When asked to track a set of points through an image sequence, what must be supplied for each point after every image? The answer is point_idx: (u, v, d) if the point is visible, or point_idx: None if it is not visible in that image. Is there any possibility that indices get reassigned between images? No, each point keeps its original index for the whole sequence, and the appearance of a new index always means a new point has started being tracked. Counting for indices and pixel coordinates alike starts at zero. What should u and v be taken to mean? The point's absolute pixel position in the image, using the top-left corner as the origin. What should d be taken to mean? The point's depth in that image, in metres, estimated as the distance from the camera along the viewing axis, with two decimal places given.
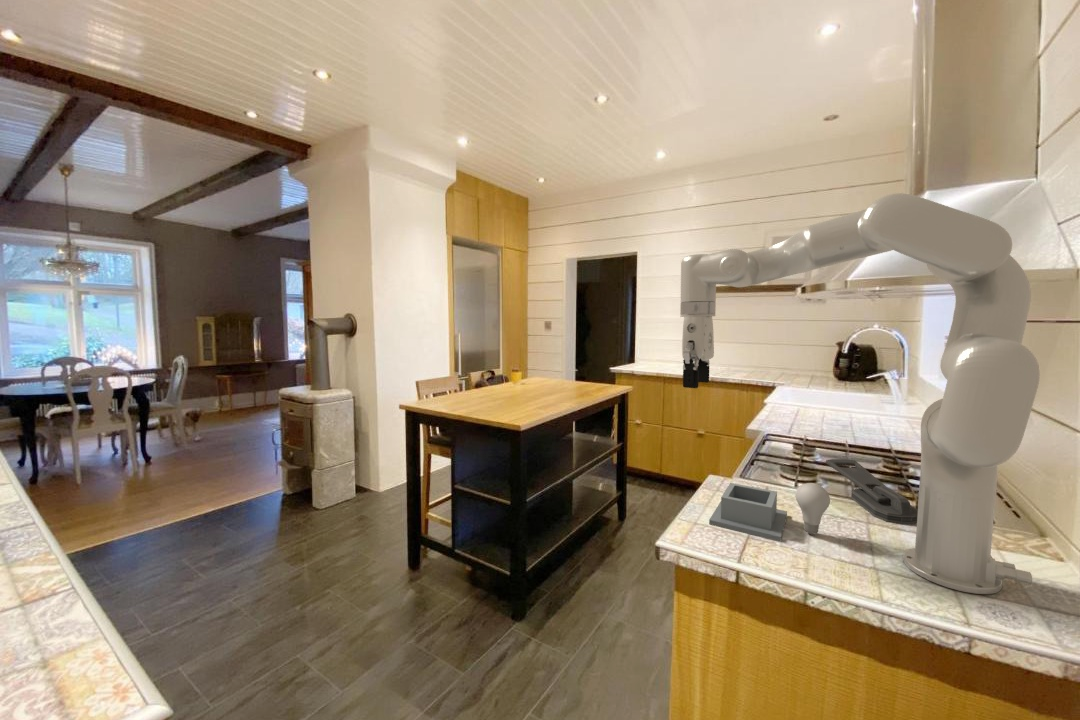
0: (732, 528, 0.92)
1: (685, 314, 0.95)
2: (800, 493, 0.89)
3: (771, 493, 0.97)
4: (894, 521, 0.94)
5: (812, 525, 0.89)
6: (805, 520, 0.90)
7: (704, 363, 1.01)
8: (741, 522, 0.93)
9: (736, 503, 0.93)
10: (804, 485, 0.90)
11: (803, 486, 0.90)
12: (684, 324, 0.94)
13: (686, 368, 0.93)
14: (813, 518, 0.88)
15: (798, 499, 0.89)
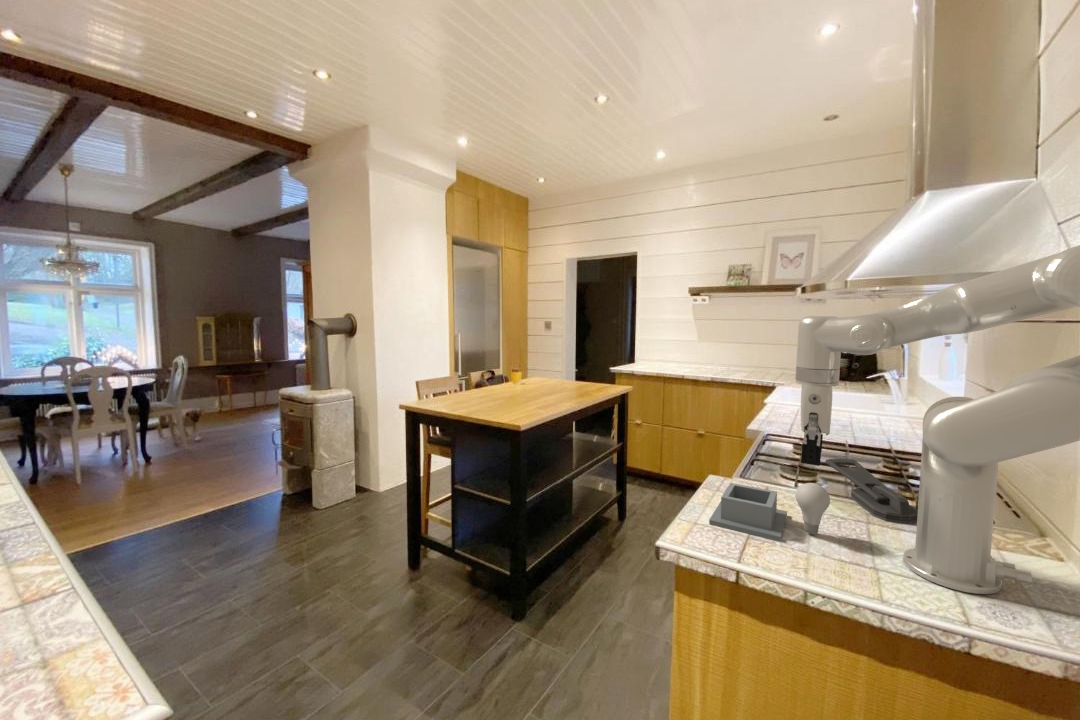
0: (732, 528, 0.92)
1: (805, 382, 0.86)
2: (800, 493, 0.89)
3: (771, 493, 0.97)
4: (893, 520, 0.95)
5: (812, 525, 0.89)
6: (805, 520, 0.90)
7: None
8: (741, 522, 0.93)
9: (736, 503, 0.93)
10: (804, 485, 0.90)
11: (803, 486, 0.90)
12: (805, 393, 0.85)
13: (808, 443, 0.84)
14: (813, 518, 0.88)
15: (798, 499, 0.89)
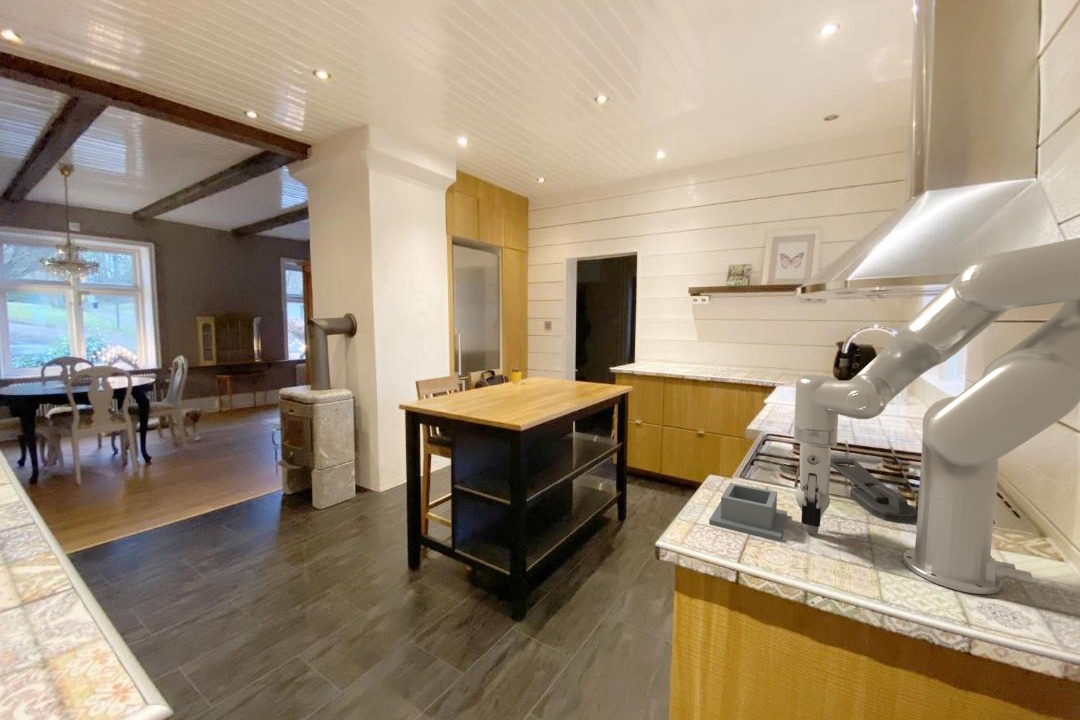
0: (732, 528, 0.92)
1: (803, 441, 0.87)
2: (800, 493, 0.89)
3: (771, 493, 0.97)
4: (892, 519, 0.95)
5: None
6: None
7: None
8: (741, 522, 0.93)
9: (736, 503, 0.93)
10: None
11: None
12: (803, 453, 0.86)
13: (807, 505, 0.86)
14: None
15: (798, 499, 0.89)
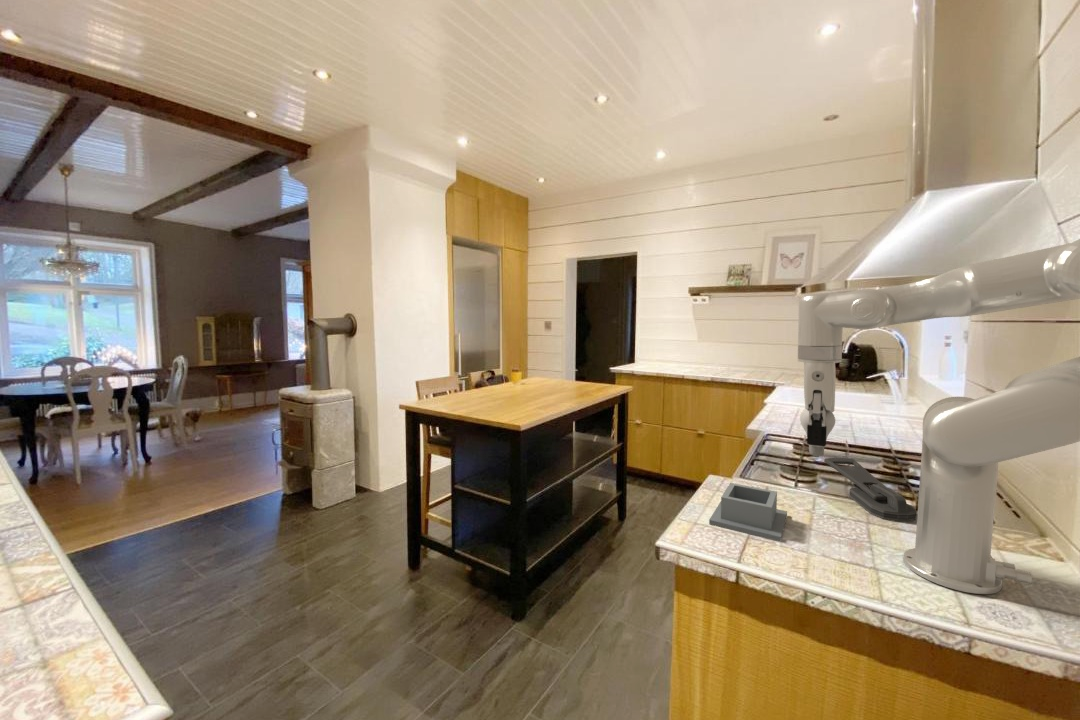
0: (732, 528, 0.92)
1: (807, 359, 0.85)
2: (805, 414, 0.87)
3: (771, 493, 0.97)
4: (890, 519, 0.95)
5: (818, 446, 0.87)
6: None
7: None
8: (741, 522, 0.93)
9: (736, 503, 0.93)
10: None
11: None
12: (807, 371, 0.84)
13: (813, 424, 0.84)
14: None
15: (803, 421, 0.88)
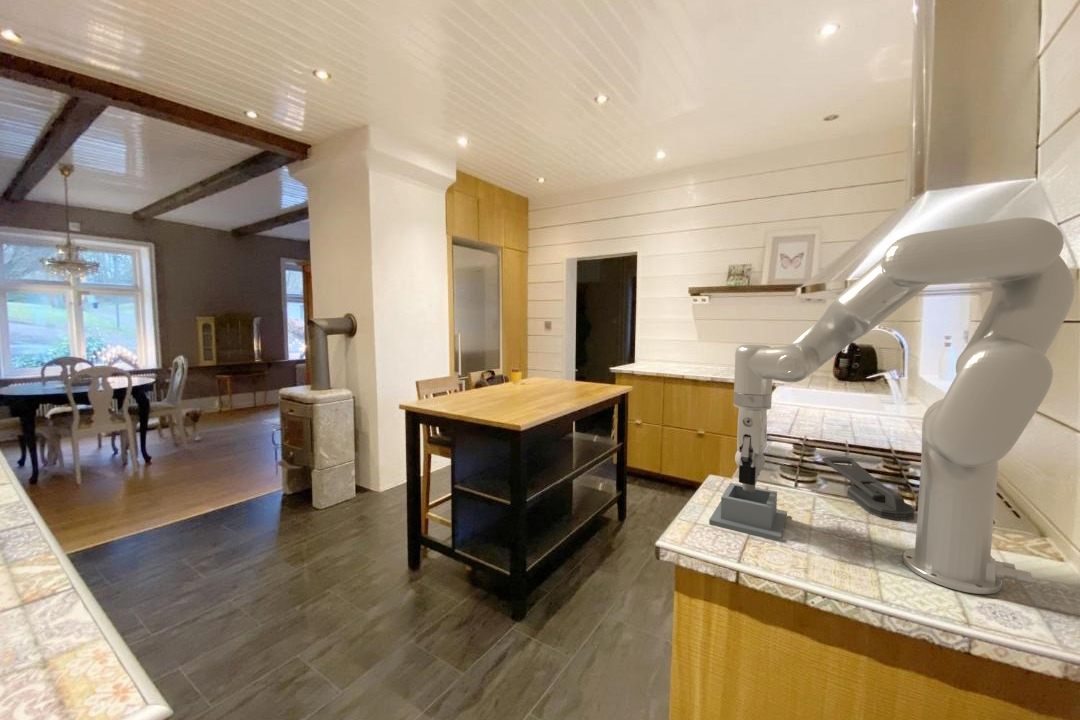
0: (732, 528, 0.92)
1: (740, 405, 0.93)
2: (738, 454, 0.95)
3: (771, 493, 0.97)
4: (888, 517, 0.96)
5: None
6: None
7: None
8: (741, 522, 0.93)
9: (736, 503, 0.93)
10: None
11: None
12: (739, 416, 0.92)
13: (743, 465, 0.92)
14: None
15: (736, 460, 0.96)
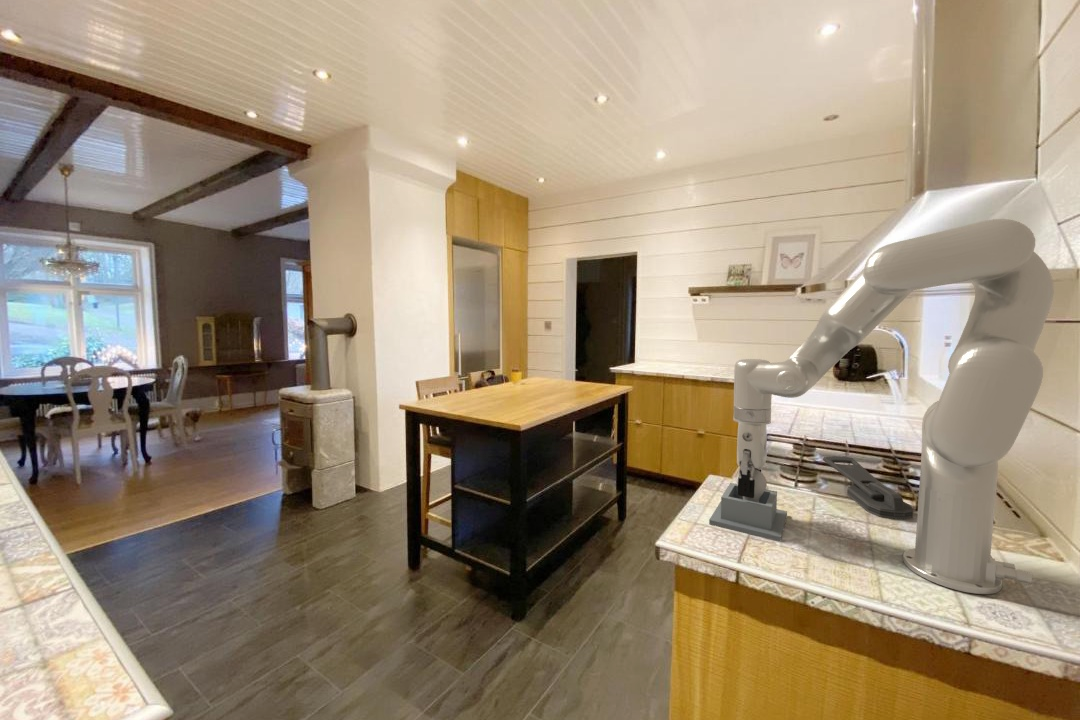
0: (732, 528, 0.92)
1: (740, 420, 0.93)
2: None
3: (771, 493, 0.97)
4: (887, 516, 0.97)
5: None
6: None
7: None
8: (741, 522, 0.93)
9: (736, 503, 0.93)
10: None
11: None
12: (739, 431, 0.92)
13: (742, 478, 0.91)
14: (751, 500, 0.95)
15: None
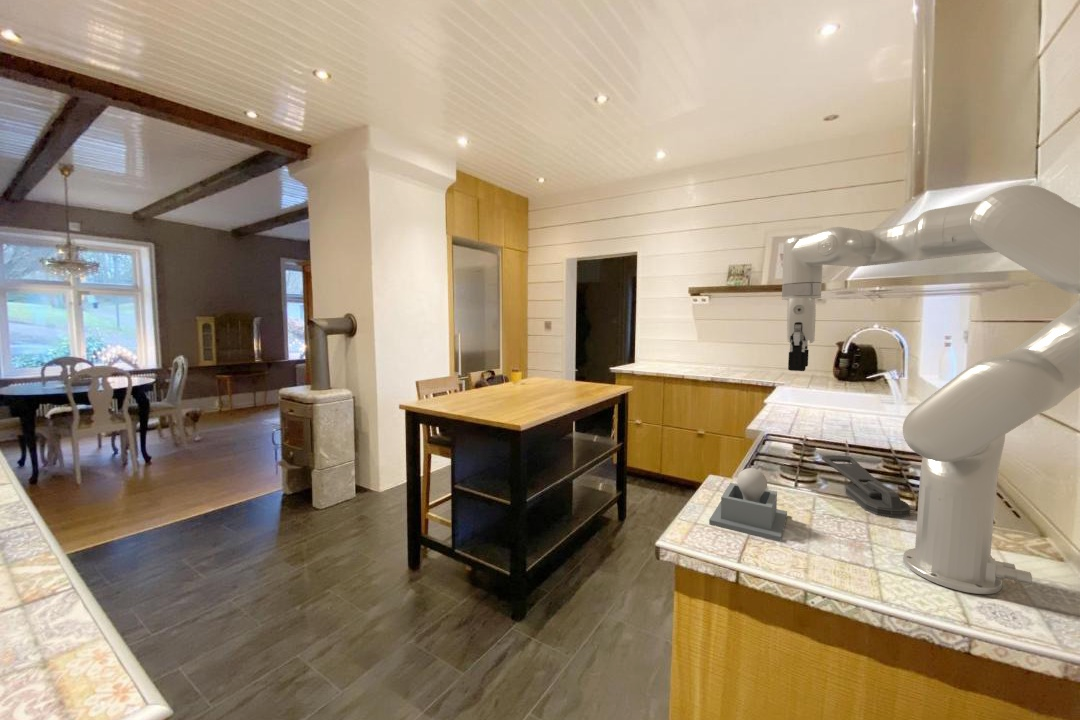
0: (732, 528, 0.92)
1: (790, 296, 0.94)
2: (740, 477, 0.96)
3: (771, 493, 0.97)
4: (884, 514, 0.97)
5: None
6: None
7: None
8: (741, 522, 0.93)
9: (736, 503, 0.93)
10: (744, 470, 0.96)
11: (743, 471, 0.96)
12: (790, 306, 0.93)
13: (793, 350, 0.91)
14: None
15: (738, 483, 0.96)
